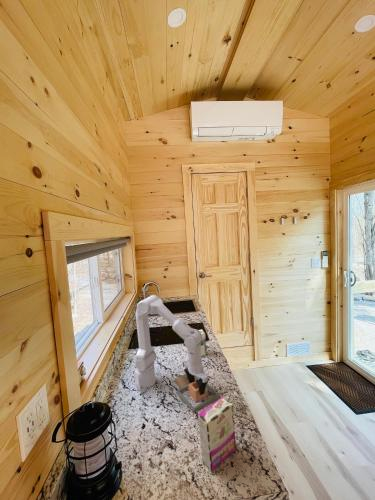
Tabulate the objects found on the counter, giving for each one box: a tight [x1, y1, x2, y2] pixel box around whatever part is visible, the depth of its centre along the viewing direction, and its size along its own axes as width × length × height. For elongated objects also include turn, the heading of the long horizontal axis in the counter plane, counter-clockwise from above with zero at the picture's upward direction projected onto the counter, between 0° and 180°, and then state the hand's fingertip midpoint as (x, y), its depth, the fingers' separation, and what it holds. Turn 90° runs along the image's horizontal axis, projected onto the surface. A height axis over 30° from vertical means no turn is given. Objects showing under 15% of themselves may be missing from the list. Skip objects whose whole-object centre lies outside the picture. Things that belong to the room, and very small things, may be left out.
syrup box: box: [198, 329, 208, 358], centre depth 133 cm, size 6×6×14 cm
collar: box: [188, 381, 207, 403], centre depth 101 cm, size 7×6×5 cm
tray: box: [175, 383, 221, 413], centre depth 101 cm, size 14×14×2 cm
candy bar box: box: [197, 396, 237, 472], centre depth 74 cm, size 11×5×16 cm, turn 126°
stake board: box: [172, 373, 199, 389], centre depth 112 cm, size 10×7×6 cm
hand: (197, 388), depth 101 cm, fingers open, 7 cm apart
